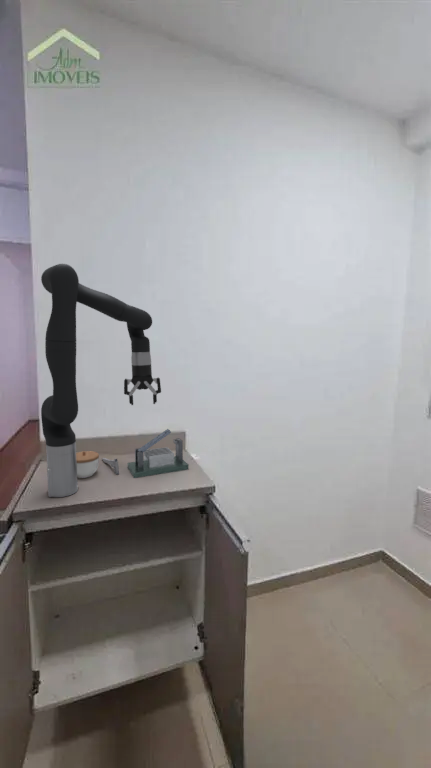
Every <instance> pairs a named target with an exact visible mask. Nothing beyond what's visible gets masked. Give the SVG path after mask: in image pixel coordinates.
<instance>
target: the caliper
mask: <svg viewBox="0 0 431 768" xmlns="http://www.w3.org/2000/svg"><path fill="white" fill-rule="evenodd" d="M101 459H102V460H103V461H104V462H103V461H102V460H101V461H102V462H103V463H105V464H108V465H109V466H110V467H111V468H113V471H114V474H115V475H119V474H120V468H119V467H120V466H119V461H118V458H115V457H114V458H113V459H109V458H106V457H102V458H101Z"/></svg>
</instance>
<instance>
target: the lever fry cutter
mask: <svg viewBox="0 0 431 768" xmlns="http://www.w3.org/2000/svg"><path fill="white" fill-rule="evenodd" d="M173 444H175V453H174V452H173V451H172V450H171V449H170V448H169V447H168V446H166V447H157V448H151V449H150V448H148V449H147V450H146V451H144V452H139V451H138V449H139V447H138V448H134V461H130V462H127V470H128V471H129V473H130V474H131V476H132V477H133V479H136V478H143V477H151V476H155V475H162V474H168V473H173V472H174V473H175V472H181V471H188V470H189V464H188V462H186V461H185V460H184V459H183V458H184V457H183V454H184V453H183V452H184V451H183V449H184V448H183V447H184V446H183V445H184V443H183V440H182V438H180V437H177V438H175V439H173Z"/></svg>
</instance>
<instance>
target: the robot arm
mask: <svg viewBox="0 0 431 768" xmlns="http://www.w3.org/2000/svg"><path fill="white" fill-rule="evenodd" d="M40 280H41V281H40V282H41V284H42V286H43V289H45V290H46V291H47V292H48V293H49V294H51V304H52V305H51V312H50V316H49V320H48V322H47V328H46V332H45V344H44V345H45V347H44V348H45V351H44V352H45V360H46V363H47V366H48V369H49V373H50V375H51V379H52V395H50V396H48V397H46V398H45V399H44V401H43V402H42V405H41V409H40V413H41V414H40V416H41V417H40V418H41V426H42V434H43V436H44V440H45V451H46V472H47V474H46V475H47V477H46V478H47V491H48V492H47V493H48V498H63V497H68V496H72V495H73V494H75V493H77V491H79V486H78V485H79V483H78V477H77V458H76V453H77V442H76V440H77V438H76V433H75V432H74V430H73V429H72V427H71V424H72V423H73V422H74V421H76V419H77V417H78V414H79V401H78V392H77V303H79V304H81V305H83V306H86V307H89V308H91V309H93V310H95V311H97V312H100V313H101V314H103V315H105V316H107V317H110V318H111V319H114V320H115V321H118V322H124V323H126V328H127V331H128V335H129V339H130V343H131V344H130V345H131V347H130V348H131V355H130V356H131V357H130V358H131V359H130V360H131V377H132V378H130V379H129V378H125V379H124V380H123V385H124V386H123V394H124V395H127V396H128V400H129V401H128V402H129V405H131V406H134V395H133V394H134V393H135V392H136V390H149V391H150V392H151V393H152V399H153V401H152V402H153V403H152V404H153V405H156V403H157V402H158V401H157V400H158V399H157V397H158V396H157V395H158V394H161V393H162V387H161V379H160V377H156V378H155V377H152V375H153V373H152V356H151V347H150V346H151V345H150V338H149V337H147V336H146V335H145V332H144V331H146V330H149V329H150V328H151V327H152V326H153V318H152V316H151V315H150V314H149V312H147V311H146V310H143V309H141V308H138V307H136V306H133V305H129V304H127V303H126V302H124V301H123V300H121V299H118V298H116V297H115V296H112V295H110V294H108V293H105V292H102V291H99V290H96V289H93V288H90V287H88V286H86V285H83V284H82V283H80V281H79V276H78V273H77V271H76V270H75V269H74V267H72V266H71V265H69V264H67V263H58V264H55V265H52V266H50V267H48V268H47V269H45V270H44V271H43V273H42V274H41V279H40ZM131 383H132V385H133V387H132V388H131V390H130V391H129V390H128V388H129V387H128V386H129V385H130V384H131ZM153 383H155V384H156V385H157V389H155V388H154V387H153V385H152V384H153Z"/></svg>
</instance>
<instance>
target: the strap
mask: <svg viewBox="0 0 431 768" xmlns="http://www.w3.org/2000/svg"><path fill="white" fill-rule="evenodd" d="M171 433H172V431H171V430H170V429H169V428H167V429H165V430H164V431H163V432H161V433H159V434H158V435H157V436H155V437H154V438H153V439H151V440H149V441H148V442H147V443H145V444H144V445H142V446H140V448H139V447H138V448H139V449H138V451H139V452H143V453H144V451H146V450H149V449H150V448H151V447H153V446H154V445H155V444H157V443H159V442H160V441H162V440H163V439H164V438H165V437H168V435H170V434H171Z"/></svg>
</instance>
